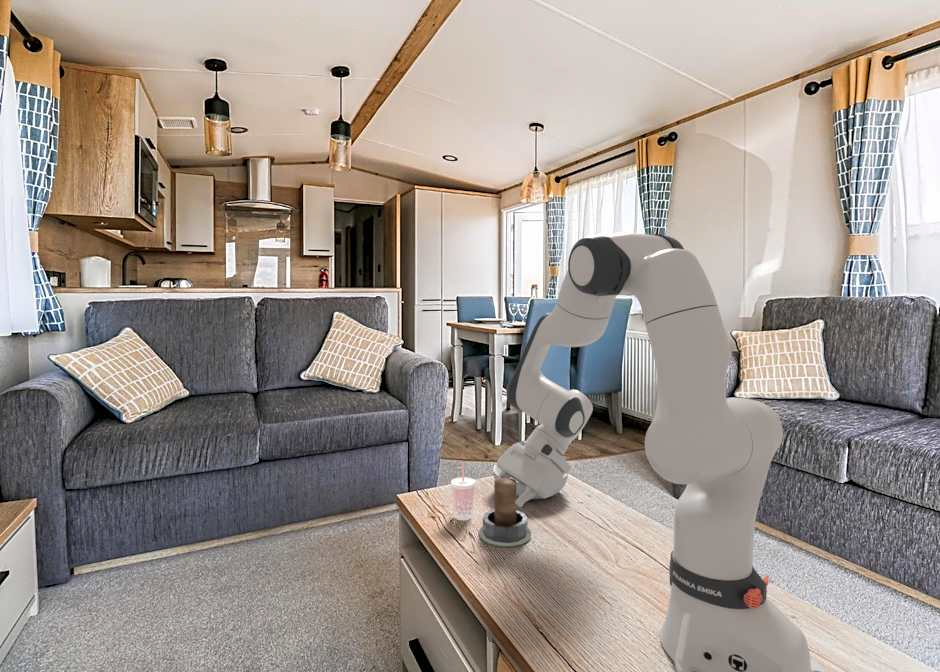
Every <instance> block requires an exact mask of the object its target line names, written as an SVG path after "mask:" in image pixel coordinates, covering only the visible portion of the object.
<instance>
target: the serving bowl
mask: <svg viewBox="0 0 940 672" xmlns="http://www.w3.org/2000/svg"><path fill="white" fill-rule="evenodd" d="M501 471H502V470H501V469H499V468H498V467H497V463H496V464H495V465H494V466H493V467H492V472H493V477H494V481H495V480H496V479H498V478H499V474H500V473H501ZM563 474H564V473H563ZM568 477H569V472H568V473H567V474H564V477H563V479H562V481H561V483H560V484H559V486H558V487H557V488H556V490H555V491H554V492H553V493H552V495H551V496H549V497H553V496H555V495H556V494H558V493H560V492H561V491H562V490H563V489H564V487H565V486H566V483H567V481H568ZM510 479H513V478H512V477H510ZM514 480H515V479H514ZM515 481H516V480H515ZM525 488H526V487H525V486H524V485H522V484H521V483H519V482H518V481H516V496H517V495H518V496H520V495H521V494H522V493H524V492H525ZM549 497H548V498H549ZM540 499H541V500H542V499H543V498H542V497H541V496H539V495H538V494H535V496H534V497H533V498H532V499H531V500H540Z"/></svg>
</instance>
